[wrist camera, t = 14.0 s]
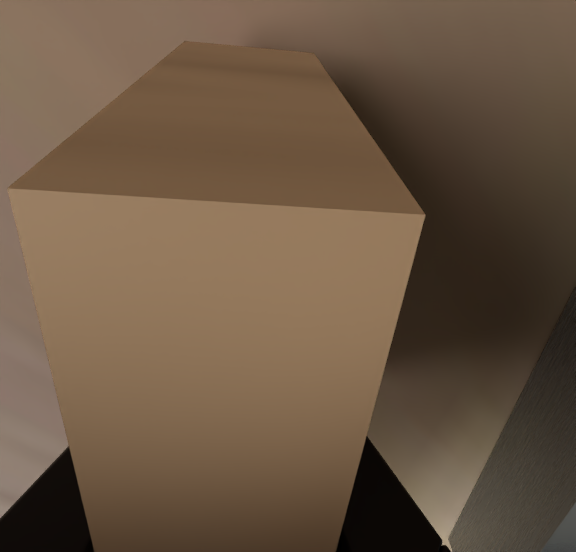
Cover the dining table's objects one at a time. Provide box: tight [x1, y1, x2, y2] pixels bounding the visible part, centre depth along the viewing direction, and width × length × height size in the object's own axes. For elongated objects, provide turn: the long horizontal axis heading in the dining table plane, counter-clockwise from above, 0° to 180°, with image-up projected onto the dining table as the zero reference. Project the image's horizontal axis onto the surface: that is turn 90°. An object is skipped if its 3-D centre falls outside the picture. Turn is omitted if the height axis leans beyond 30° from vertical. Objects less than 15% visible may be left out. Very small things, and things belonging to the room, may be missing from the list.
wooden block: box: [7, 41, 425, 552], centre depth 7 cm, size 8×2×6 cm, turn 175°
